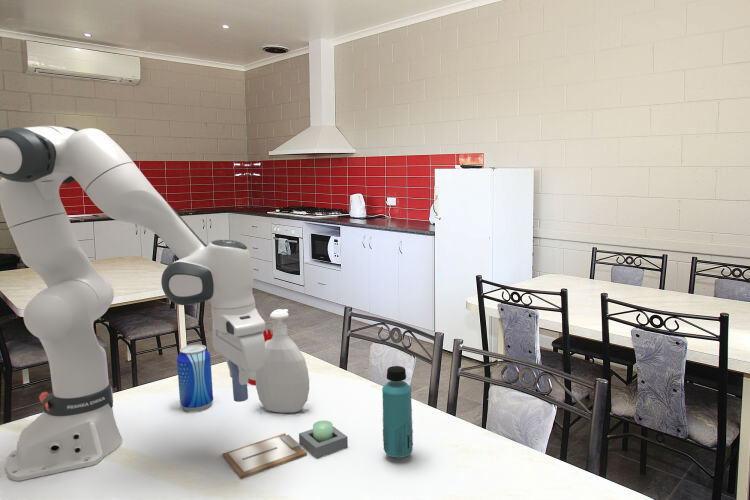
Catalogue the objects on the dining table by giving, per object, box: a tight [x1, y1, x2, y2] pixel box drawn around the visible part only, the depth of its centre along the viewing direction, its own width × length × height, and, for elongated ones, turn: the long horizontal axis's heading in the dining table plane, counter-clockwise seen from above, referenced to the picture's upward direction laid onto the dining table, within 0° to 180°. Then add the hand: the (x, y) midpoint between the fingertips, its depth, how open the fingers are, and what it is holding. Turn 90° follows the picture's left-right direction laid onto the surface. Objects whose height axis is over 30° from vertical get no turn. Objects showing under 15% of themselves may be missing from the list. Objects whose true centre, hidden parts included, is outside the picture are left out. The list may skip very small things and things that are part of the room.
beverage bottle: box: [381, 365, 414, 458], centre depth 113 cm, size 6×7×20 cm
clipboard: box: [221, 433, 308, 479], centre depth 116 cm, size 15×11×1 cm
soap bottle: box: [255, 308, 310, 414], centre depth 137 cm, size 14×8×27 cm, turn 79°
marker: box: [231, 362, 249, 403], centre depth 112 cm, size 3×3×10 cm
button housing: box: [298, 426, 349, 459], centre depth 120 cm, size 8×8×2 cm
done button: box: [312, 420, 334, 443], centre depth 119 cm, size 4×4×4 cm
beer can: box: [176, 344, 214, 413], centre depth 141 cm, size 8×8×16 cm
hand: (239, 380), depth 113 cm, fingers closed on marker, 3 cm apart
